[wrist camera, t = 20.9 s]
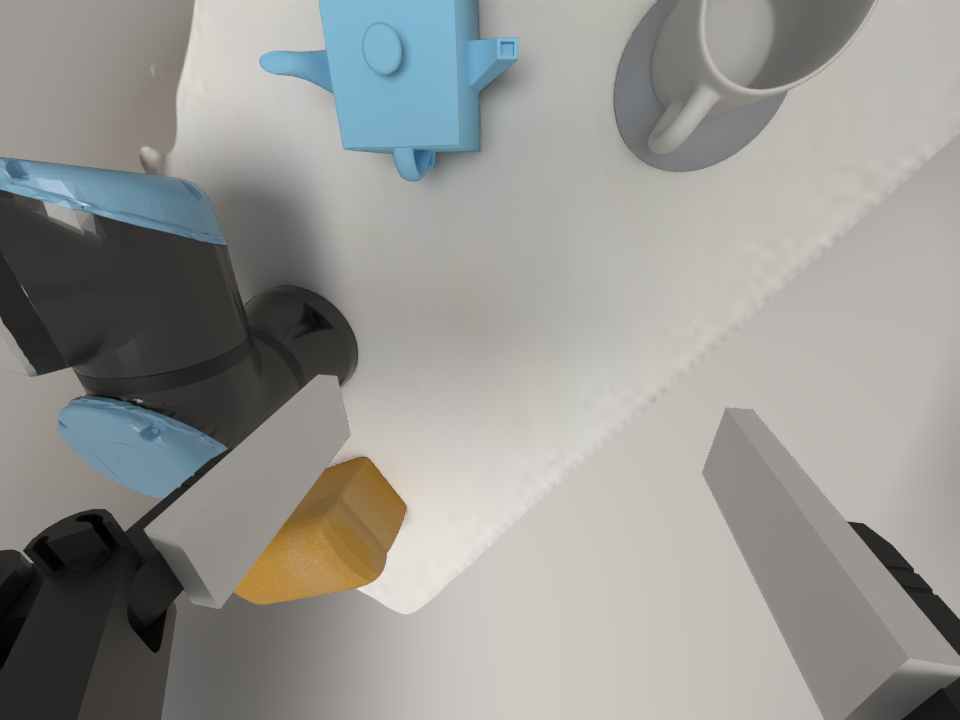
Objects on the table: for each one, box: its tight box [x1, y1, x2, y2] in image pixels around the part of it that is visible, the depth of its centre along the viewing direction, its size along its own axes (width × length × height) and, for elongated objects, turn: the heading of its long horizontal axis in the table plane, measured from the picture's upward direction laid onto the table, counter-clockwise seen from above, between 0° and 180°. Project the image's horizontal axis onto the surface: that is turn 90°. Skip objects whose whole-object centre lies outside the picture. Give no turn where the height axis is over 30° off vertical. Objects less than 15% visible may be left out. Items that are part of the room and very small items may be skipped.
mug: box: [648, 0, 879, 154], centre depth 24 cm, size 12×8×11 cm
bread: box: [233, 457, 406, 605], centre depth 56 cm, size 24×13×15 cm, turn 119°
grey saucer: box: [614, 0, 788, 171], centre depth 29 cm, size 13×13×1 cm
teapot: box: [260, 0, 518, 181], centre depth 28 cm, size 16×18×11 cm
